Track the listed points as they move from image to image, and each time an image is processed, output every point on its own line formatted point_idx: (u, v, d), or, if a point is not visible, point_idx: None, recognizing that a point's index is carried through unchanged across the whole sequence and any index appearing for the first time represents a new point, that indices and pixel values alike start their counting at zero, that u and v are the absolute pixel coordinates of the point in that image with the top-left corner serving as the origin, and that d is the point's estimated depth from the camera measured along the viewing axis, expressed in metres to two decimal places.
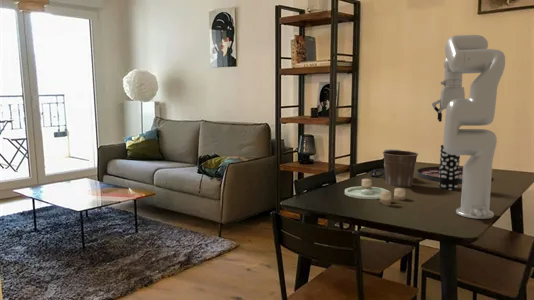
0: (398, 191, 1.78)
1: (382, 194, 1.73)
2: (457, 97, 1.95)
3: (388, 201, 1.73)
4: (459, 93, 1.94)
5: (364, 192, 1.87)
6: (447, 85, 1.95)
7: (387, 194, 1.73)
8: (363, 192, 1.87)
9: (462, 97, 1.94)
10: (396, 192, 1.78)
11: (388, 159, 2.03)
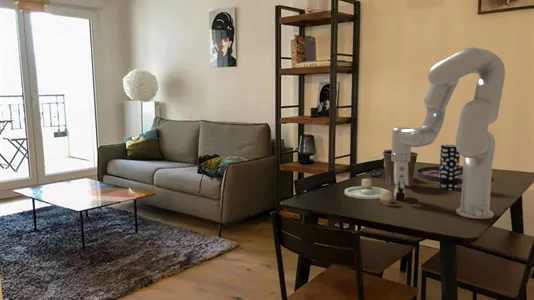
0: None
1: (382, 194, 1.73)
2: None
3: (389, 200, 1.73)
4: None
5: (364, 192, 1.87)
6: (407, 160, 1.74)
7: (387, 194, 1.73)
8: (363, 192, 1.87)
9: None
10: None
11: (388, 159, 2.03)
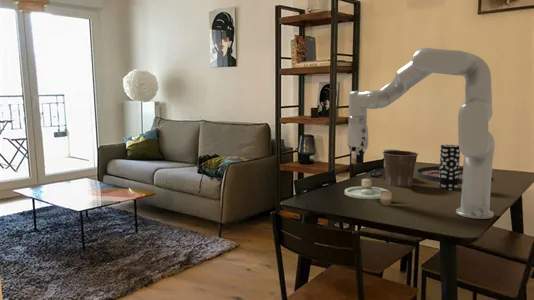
0: None
1: (383, 194, 1.73)
2: None
3: (389, 200, 1.73)
4: None
5: (364, 192, 1.87)
6: (366, 122, 1.81)
7: (388, 194, 1.73)
8: (363, 192, 1.87)
9: None
10: (355, 154, 1.83)
11: (388, 159, 2.03)
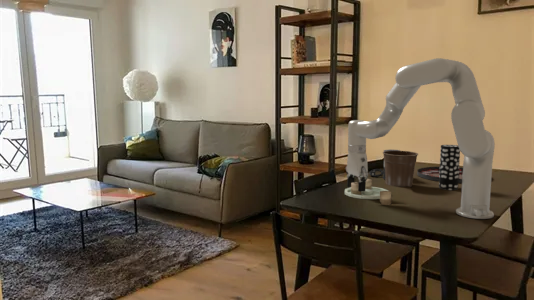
0: (357, 185, 1.84)
1: (383, 194, 1.73)
2: None
3: (390, 200, 1.73)
4: None
5: (364, 192, 1.87)
6: (365, 151, 1.83)
7: (388, 193, 1.73)
8: (363, 192, 1.87)
9: None
10: (355, 186, 1.85)
11: (388, 159, 2.03)
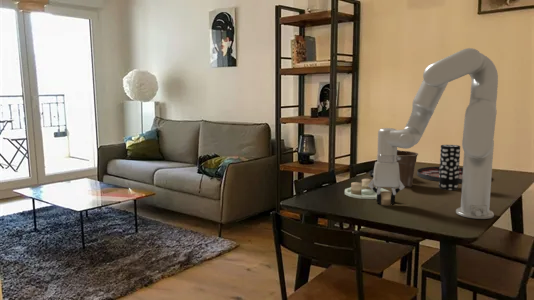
0: (357, 185, 1.84)
1: (386, 194, 1.73)
2: None
3: None
4: None
5: (364, 192, 1.87)
6: None
7: (390, 193, 1.73)
8: (363, 192, 1.87)
9: None
10: (355, 186, 1.85)
11: None
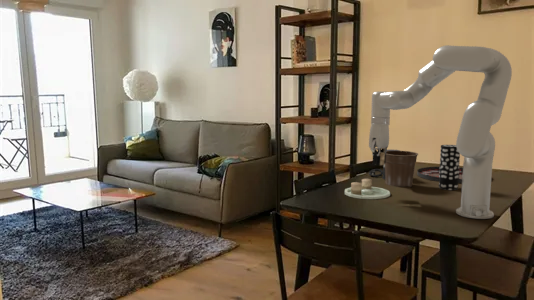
0: (357, 185, 1.84)
1: (383, 154, 1.82)
2: None
3: None
4: None
5: (364, 192, 1.87)
6: None
7: None
8: (363, 192, 1.87)
9: None
10: (355, 186, 1.85)
11: (388, 159, 2.03)
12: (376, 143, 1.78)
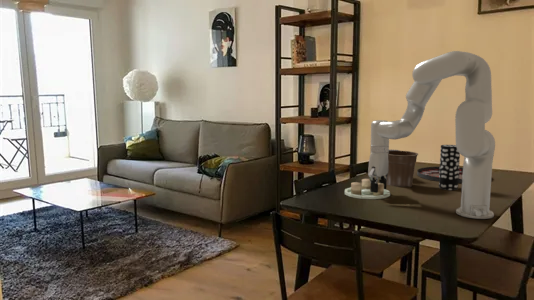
0: (357, 185, 1.84)
1: (383, 186, 1.84)
2: None
3: None
4: None
5: (364, 192, 1.87)
6: None
7: None
8: (363, 192, 1.87)
9: None
10: (355, 186, 1.85)
11: (388, 159, 2.03)
12: (375, 172, 1.80)
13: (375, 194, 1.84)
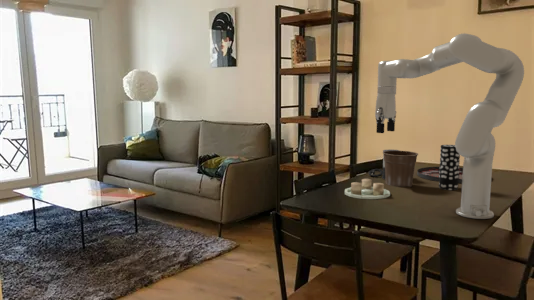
0: (357, 185, 1.85)
1: (383, 186, 1.84)
2: None
3: None
4: None
5: (364, 192, 1.87)
6: None
7: None
8: (363, 192, 1.87)
9: None
10: (355, 186, 1.85)
11: (388, 159, 2.03)
12: (383, 113, 1.77)
13: (375, 194, 1.84)
